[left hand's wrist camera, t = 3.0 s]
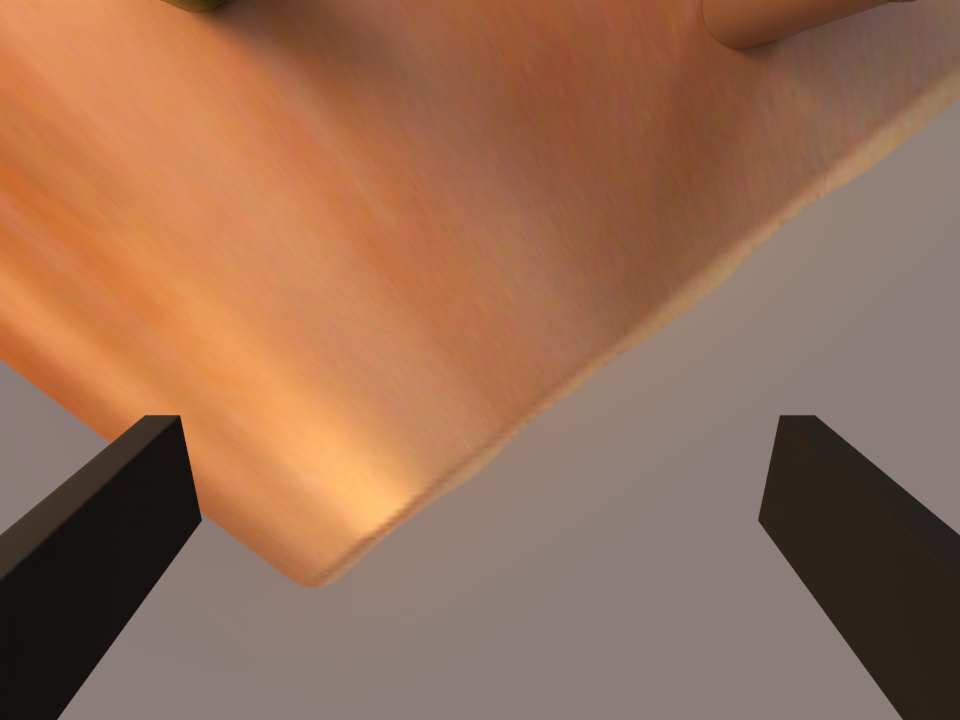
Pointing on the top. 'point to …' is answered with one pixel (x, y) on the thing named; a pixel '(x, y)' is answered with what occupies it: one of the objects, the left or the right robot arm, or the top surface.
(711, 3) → the screw-top jar
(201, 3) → the soda can
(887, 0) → the lid
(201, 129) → the top surface
